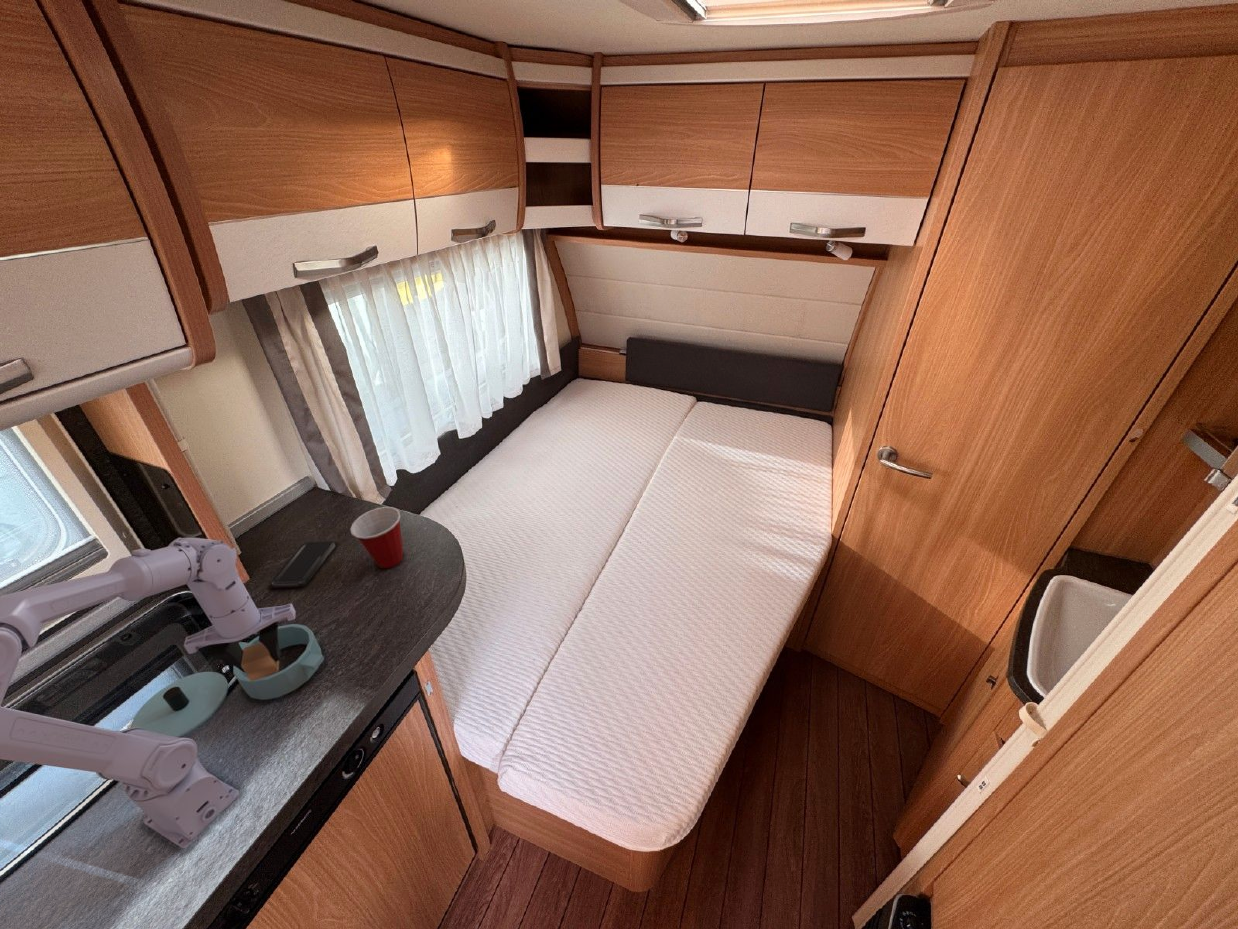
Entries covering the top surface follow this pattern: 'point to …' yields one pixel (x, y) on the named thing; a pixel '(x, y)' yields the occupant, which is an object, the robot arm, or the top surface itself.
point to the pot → (290, 675)
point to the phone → (303, 564)
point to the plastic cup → (380, 535)
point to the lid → (183, 704)
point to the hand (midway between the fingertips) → (262, 662)
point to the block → (258, 662)
